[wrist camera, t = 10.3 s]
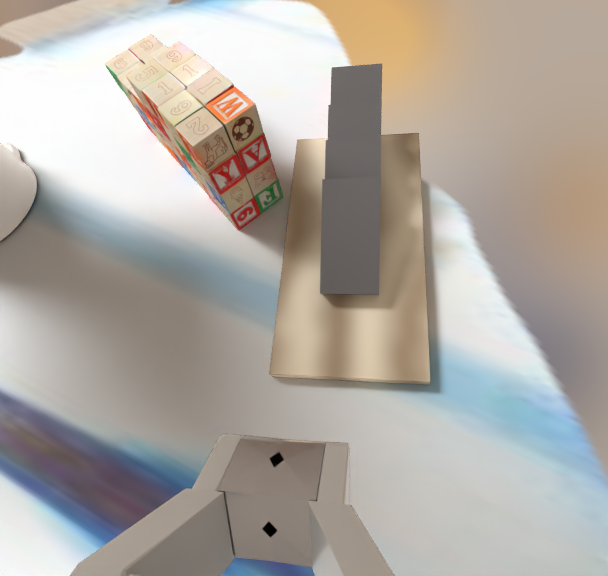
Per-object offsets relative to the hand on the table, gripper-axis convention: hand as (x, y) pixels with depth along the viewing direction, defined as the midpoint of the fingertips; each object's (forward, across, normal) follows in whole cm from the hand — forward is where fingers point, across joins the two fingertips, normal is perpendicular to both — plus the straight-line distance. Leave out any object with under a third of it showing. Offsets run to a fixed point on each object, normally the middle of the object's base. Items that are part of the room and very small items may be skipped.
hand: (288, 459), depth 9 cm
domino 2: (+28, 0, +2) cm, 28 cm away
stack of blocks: (+39, +17, -5) cm, 43 cm away
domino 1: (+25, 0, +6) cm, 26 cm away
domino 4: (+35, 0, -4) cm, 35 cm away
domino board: (+30, 0, +3) cm, 31 cm away
